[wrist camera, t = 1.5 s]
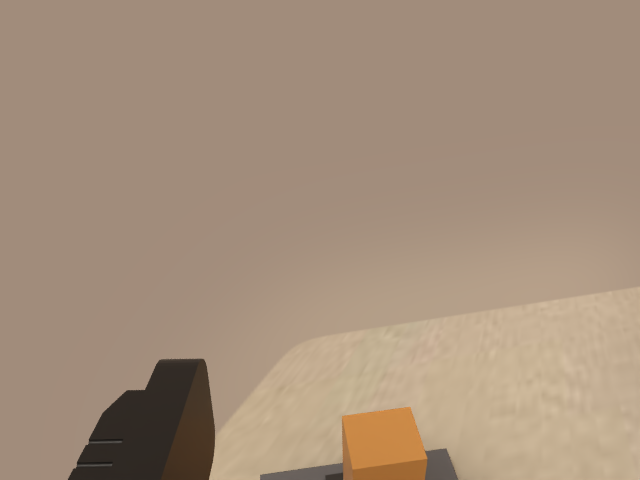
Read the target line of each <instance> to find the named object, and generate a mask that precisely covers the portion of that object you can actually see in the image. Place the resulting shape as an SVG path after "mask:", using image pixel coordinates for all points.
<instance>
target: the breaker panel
mask: <svg viewBox="0 0 640 480" xmlns="http://www.w3.org/2000/svg"><path fill="white" fill-rule="evenodd" d="M425 453H426V456H427V466H426V474H425V480H458V478H457V476H456V473H455V470H454V468H453V465H452V462H451V460H450V457H449V454H448V452H447V449H439V450H432V451H425ZM260 480H343V463H340V464H333V465H326V466H319V467H312V468H305V469H298V470H291V471H284V472H277V473H270V474H263V475H260Z"/></svg>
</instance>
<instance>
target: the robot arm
mask: <svg viewBox="0 0 640 480" xmlns="http://www.w3.org/2000/svg"><path fill="white" fill-rule="evenodd" d="M214 447H215V426H214V418H213V410H212V403H211V396H210V387H209V380H208V372H207V366H206V363H205V361H204V359H163V360H159V362H158V363H157V365H156V366H155V369H154V371H153V373H152V375H151V378H150V380H149V382H148V385H147V387H146V389H145V390H128V391H126V392H125V393H124V394H122V396H120V397H119V398H118V399H117V400H116V401H115V402H114V403H113V404H112V405H111V406H110V407H109V408H108V409H107V410H105V411H104V412H103V414H102V416H101V417H100V419H99V421H98V423H97V425H96V427H95V429H94V431H93V433H92V434H91V436H90V438H89V444H88V445H86V446H85V448H84V450H83V452H82V454H81V455H80V457H79V459H78V461H77V467H76V469H73V471H72V473H71V475H70V477H69V478H68V480H209V476H210V472H211V467H212V463H213V457H214Z"/></svg>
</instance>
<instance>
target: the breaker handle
mask: <svg viewBox="0 0 640 480" xmlns="http://www.w3.org/2000/svg"><path fill="white" fill-rule="evenodd" d="M342 440H343V480H425V474H426V466H427V456H426V453H425V450H424V447H423V444H422V441H421V438H420V435H419V432H418V429H417V426H416V423H415V420H414V417H413V414H412V411H411V408H410V407H406V408H398V409H391V410H384V411H376V412H369V413H361V414H354V415H346V416H342Z"/></svg>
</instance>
